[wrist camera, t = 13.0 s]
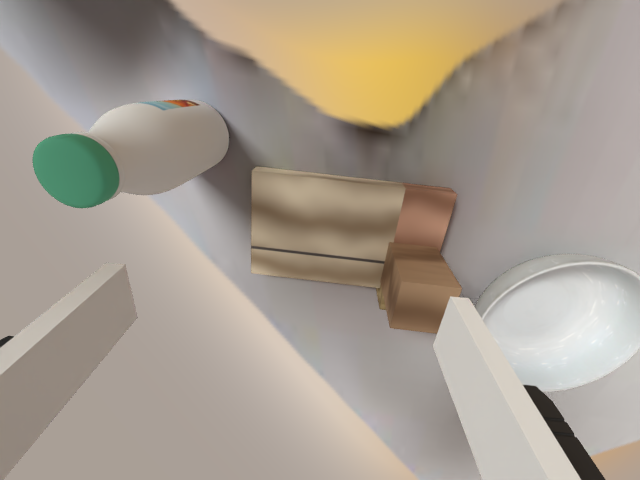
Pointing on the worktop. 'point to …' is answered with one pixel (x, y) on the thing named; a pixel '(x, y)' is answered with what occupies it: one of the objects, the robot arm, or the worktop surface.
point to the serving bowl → (564, 319)
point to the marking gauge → (416, 287)
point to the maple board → (339, 224)
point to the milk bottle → (132, 152)
